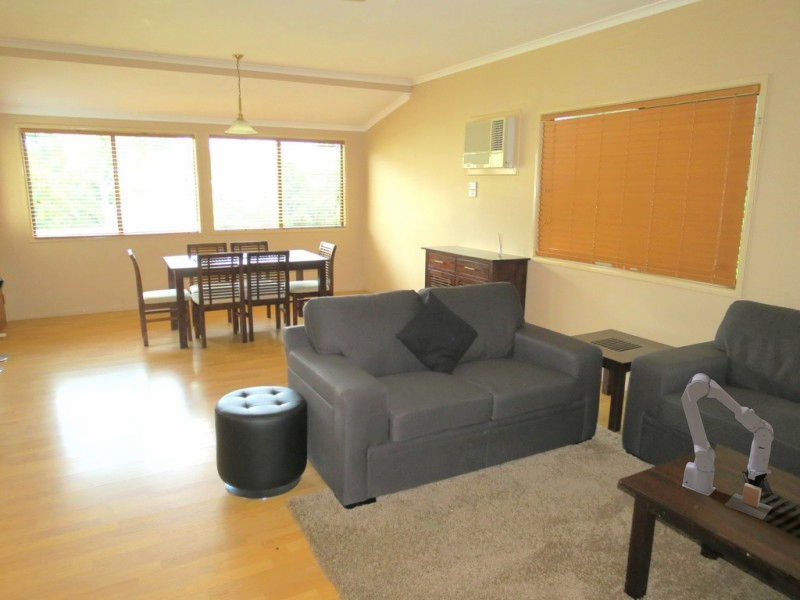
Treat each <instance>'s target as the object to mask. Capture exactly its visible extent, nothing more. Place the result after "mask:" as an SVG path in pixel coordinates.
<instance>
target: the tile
mask: <svg viewBox="0 0 800 600" xmlns="http://www.w3.org/2000/svg"><path fill="white" fill-rule="evenodd" d="M761 489H762V488H759V487H756V486H753V485H751V484H748V483H744V485H743V490H742V502H743V503H746V504H748V505H751V506H754V507H756V508H758V506H759V502H760V501H761V495H762V492H761ZM760 503H761V502H760Z"/></svg>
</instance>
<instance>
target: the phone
mask: <svg viewBox="0 0 800 600" xmlns="http://www.w3.org/2000/svg"><path fill="white" fill-rule="evenodd" d="M746 472H747V471H743V470H742V471H741V477H742V478H743V480H744V482H745V483H748V484H749V479H748V476H747V474H746ZM745 483H744V484H745ZM759 488H762V489H761V494H762V493H763V494H766V495H767V494H768V495H771V494H772V490H771V488H770V486H769V483H768V482H767V479H766V477H765V478H764V479H763V481H762V482H761V485H760V487H759Z"/></svg>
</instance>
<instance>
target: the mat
mask: <svg viewBox="0 0 800 600" xmlns="http://www.w3.org/2000/svg"><path fill="white" fill-rule="evenodd" d="M742 496H743V494H742V495H741V494H738V493H737V492H736V493H734V494H733V495H732V496H731V497H730V498H729V500H727V501H726V502H725V504H724V506H726V507H728V508H731V509H734V510H736V511H738V512H742V513H744V514H746V515H749V516H751V517H754V518H757V519H759V520H762V521H763V520H764V519H765V518H766V516H767V515H768V514H769V512H770V511H771V509H773V506H770V505H768V504H765V503H763V502H759V506H758V508H756V507H754V506H751V505H748V504H746V503H743V502H742Z"/></svg>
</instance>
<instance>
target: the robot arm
mask: <svg viewBox="0 0 800 600" xmlns="http://www.w3.org/2000/svg"><path fill="white" fill-rule="evenodd" d="M706 395H707V396H706ZM705 396H706V398H711V399H712V398H713V399H716V400H717V401H719V402H720V403H722V405H724V406H725V407H726V408H727V409H729V410H730V411H731V412H732V413H734V419H735V420H737V422H739V423H740V424H741V425H742V426H743V427H745V429H747V430H748V432H751V433H752V434H753V440H752V443H751V448H750V454H749V459H748V464H747V470H746V471H745V472H746V474H747V476H748V479H749V484H751V485H753V486H756V487H760V485H761V482H762V481H763V479H764V478H765V479H766V477H767V476H768V475H770V474H771V472H772V470H771V469H768V467H769V461H770V455H771V450H772V442H773V441H774V439H775V437H774V429H773V426H772V425H771V424H770V423H771V422H767V421H766V420H765V419H762V418H760V417H759V416H758V415H757V414H756V413H755V410H754V409H753V408H751V409H750V408H749V407H747V406H741V405H740V404H739V403H738V402H737V401H736V400H735V399H734V398H733V397H732V396H731V395H729V393H727V391H725V390H724V388H722V387H721V386H720V384H718V383H717V381H715V380H713V379H711V378H710V377H709V376H708V375H707V374H705V373H702V372H701V373H700V372H699V373H696V374H694V375H693V376H692V377H691V378H690V379H689V380H688V383H687V384H686V387H685V389H684V392H683V394H682V396H681V401H680V402H681V404H682V408H683V411H684V414H685V419H686V421H687V425H688V428H689V432H690V436H691V439H692V443H693V449H694V455H695V458H694V462H691V461H689V462H687V464H686V465H685V468H684V474H683V481H682V485H681V486H682V488H686V489H688V490H692V491H694V492H697V493H699V494H702V495H704V496H707V497H710V495H712V493H713V492H714V491H715V490H716V489H717V488H716V487H714V486H713V485H714V478H715V471H716V467H715V459H716V456H717V455H716V452H715V450H714V449H713V448H712V446H711V443H710V442H709V440H708V438H707V434H706V431H705V427H704V424H703V420H702V417H701V414H700V413H701V412H700V409H699V406H698V403H697V402H698V401H699V400H700V399H701V398H702V397H705Z"/></svg>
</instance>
